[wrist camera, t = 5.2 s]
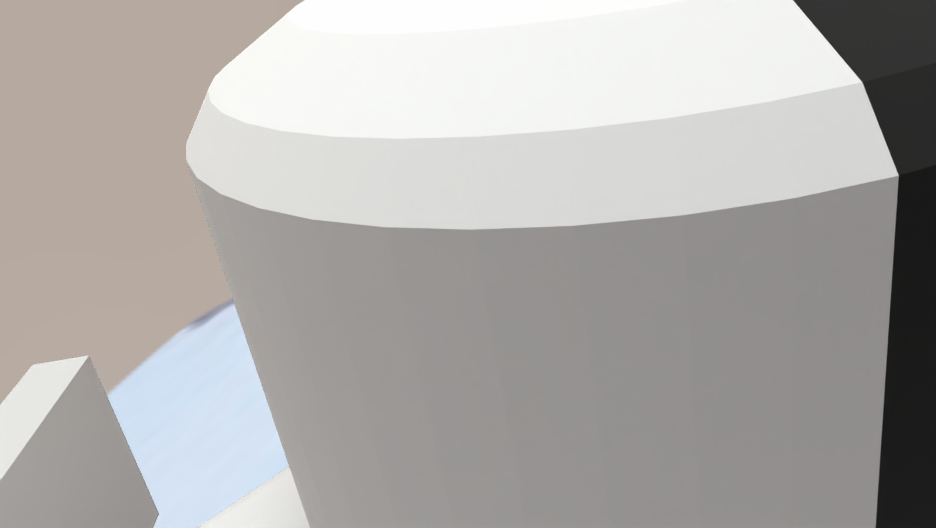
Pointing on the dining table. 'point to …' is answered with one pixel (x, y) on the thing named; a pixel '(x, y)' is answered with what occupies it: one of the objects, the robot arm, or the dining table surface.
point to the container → (584, 261)
